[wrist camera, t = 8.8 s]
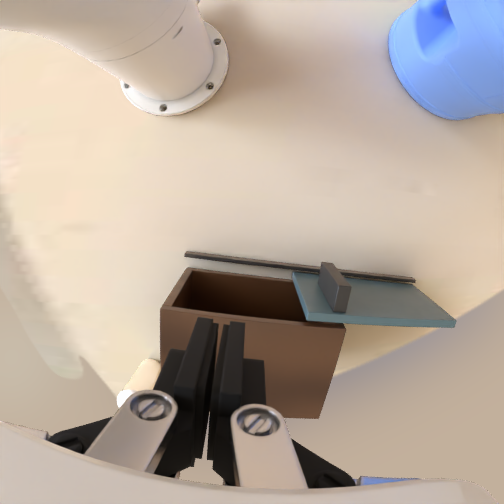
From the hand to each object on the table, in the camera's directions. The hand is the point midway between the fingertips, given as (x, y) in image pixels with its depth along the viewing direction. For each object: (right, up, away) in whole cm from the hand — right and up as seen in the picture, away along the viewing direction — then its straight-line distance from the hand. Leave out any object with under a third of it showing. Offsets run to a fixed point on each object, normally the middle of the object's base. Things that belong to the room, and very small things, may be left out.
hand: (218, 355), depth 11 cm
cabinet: (+7, -4, +27) cm, 28 cm away
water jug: (+25, +28, +19) cm, 42 cm away
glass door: (+14, +1, +25) cm, 28 cm away
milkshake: (-12, -12, +29) cm, 34 cm away
